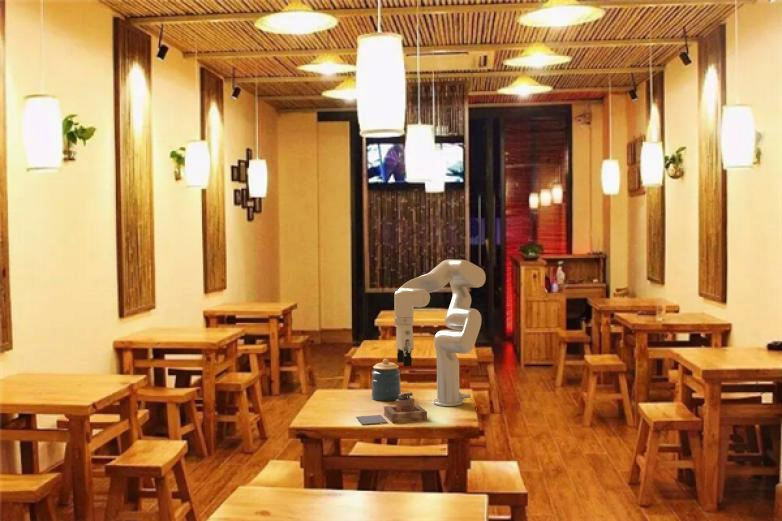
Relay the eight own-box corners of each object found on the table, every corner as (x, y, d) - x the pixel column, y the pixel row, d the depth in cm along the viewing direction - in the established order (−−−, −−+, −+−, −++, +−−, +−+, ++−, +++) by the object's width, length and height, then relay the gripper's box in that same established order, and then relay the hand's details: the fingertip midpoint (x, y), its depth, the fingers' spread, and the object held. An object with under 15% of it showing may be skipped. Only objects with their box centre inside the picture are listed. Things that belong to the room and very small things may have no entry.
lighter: (398, 419, 329) (398, 394, 328) (394, 418, 332) (394, 393, 331) (416, 417, 332) (415, 392, 332) (412, 415, 335) (411, 391, 335)
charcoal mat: (380, 416, 335) (380, 414, 335) (387, 423, 323) (387, 421, 323) (356, 418, 332) (356, 416, 332) (362, 425, 321) (362, 423, 321)
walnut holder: (417, 412, 340) (417, 404, 340) (427, 420, 327) (427, 411, 327) (384, 414, 337) (384, 406, 337) (392, 423, 323) (392, 414, 323)
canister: (375, 402, 360) (374, 361, 359) (368, 396, 373) (368, 357, 372) (404, 400, 363) (403, 360, 362) (397, 394, 376) (396, 355, 375)
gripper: (419, 323, 322) (419, 367, 323) (407, 318, 339) (407, 360, 340) (400, 324, 321) (400, 368, 321) (389, 319, 337) (390, 361, 338)
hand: (404, 364), depth 331 cm, fingers open, 9 cm apart
